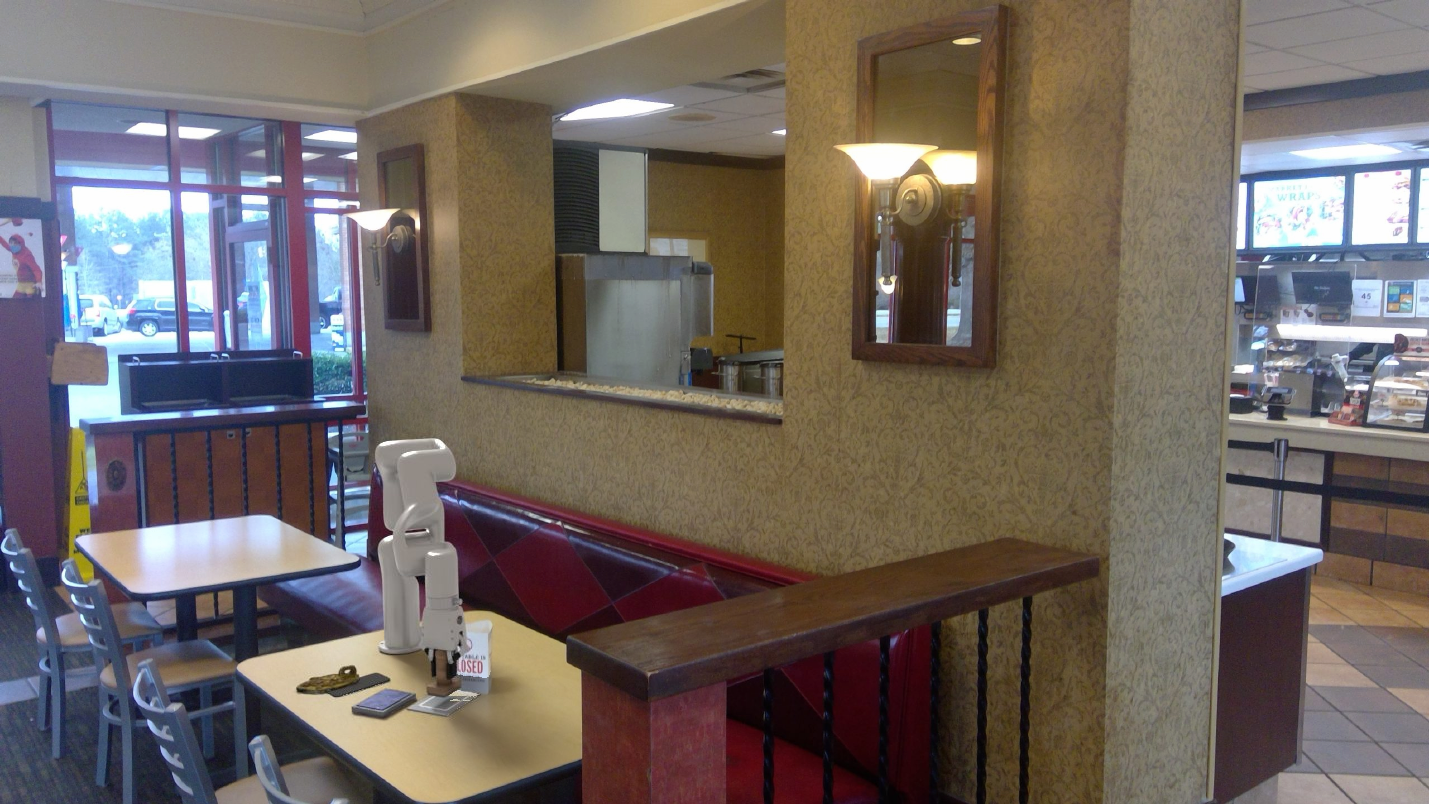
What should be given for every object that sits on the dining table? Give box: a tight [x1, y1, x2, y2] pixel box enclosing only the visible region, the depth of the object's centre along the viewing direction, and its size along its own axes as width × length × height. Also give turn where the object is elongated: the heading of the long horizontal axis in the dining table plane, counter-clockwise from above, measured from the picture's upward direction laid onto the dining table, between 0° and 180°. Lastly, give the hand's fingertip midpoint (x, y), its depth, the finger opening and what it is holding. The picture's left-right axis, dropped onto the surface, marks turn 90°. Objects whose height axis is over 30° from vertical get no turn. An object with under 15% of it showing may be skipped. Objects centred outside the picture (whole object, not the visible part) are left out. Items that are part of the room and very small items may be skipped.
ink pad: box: [351, 687, 417, 719], centre depth 239 cm, size 12×9×2 cm
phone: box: [326, 672, 391, 698], centre depth 251 cm, size 7×1×15 cm
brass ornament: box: [295, 664, 360, 695], centre depth 251 cm, size 9×5×15 cm
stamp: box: [426, 649, 463, 698], centre depth 240 cm, size 7×5×11 cm
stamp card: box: [406, 695, 477, 717], centre depth 241 cm, size 14×11×1 cm
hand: (444, 675), depth 240 cm, fingers closed on stamp, 3 cm apart
